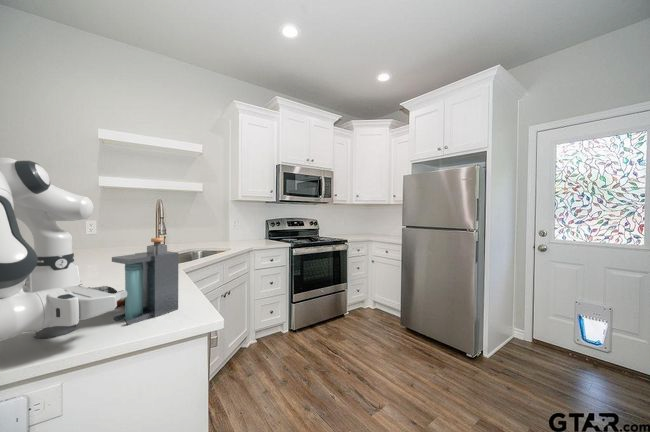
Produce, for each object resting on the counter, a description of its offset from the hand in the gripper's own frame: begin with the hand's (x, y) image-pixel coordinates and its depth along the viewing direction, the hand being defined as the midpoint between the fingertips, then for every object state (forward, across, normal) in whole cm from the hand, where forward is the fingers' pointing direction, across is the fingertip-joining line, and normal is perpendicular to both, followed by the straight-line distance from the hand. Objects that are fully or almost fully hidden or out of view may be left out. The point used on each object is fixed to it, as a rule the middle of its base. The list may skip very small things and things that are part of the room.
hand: (116, 291), depth 78 cm
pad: (-10, -10, -10) cm, 17 cm away
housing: (+8, -1, -10) cm, 13 cm away
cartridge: (+5, -1, -10) cm, 11 cm away
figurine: (+9, -24, -10) cm, 27 cm away
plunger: (+13, 0, +10) cm, 16 cm away
